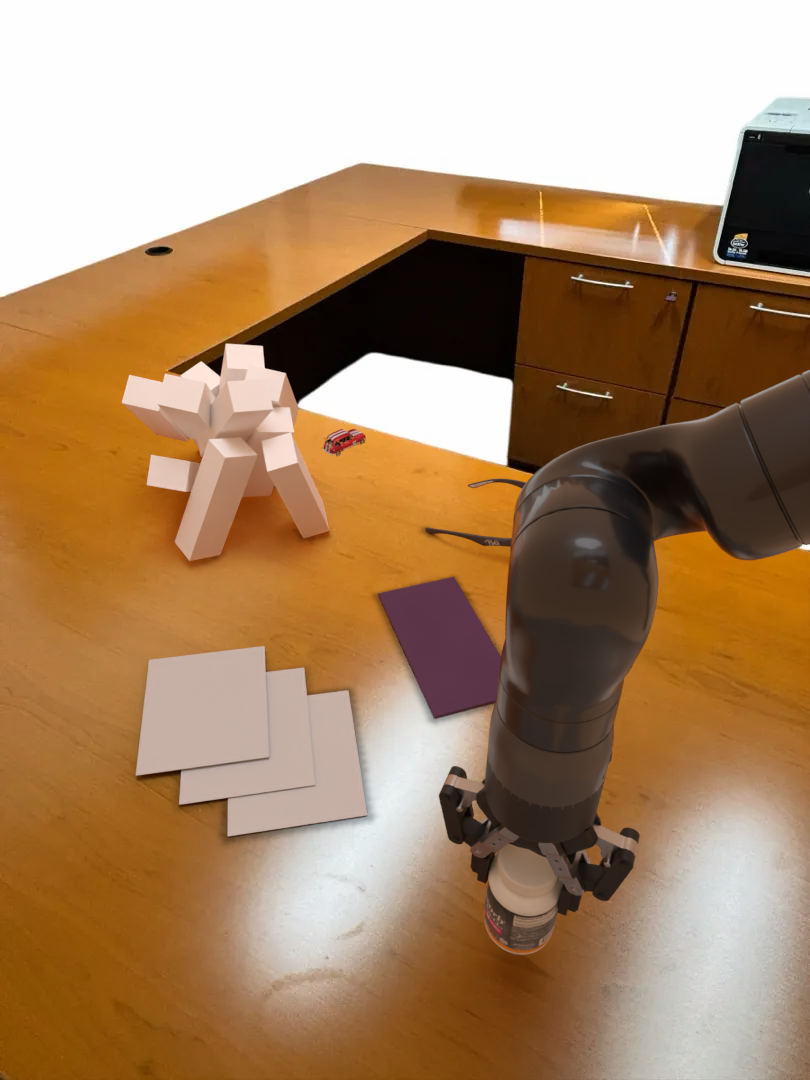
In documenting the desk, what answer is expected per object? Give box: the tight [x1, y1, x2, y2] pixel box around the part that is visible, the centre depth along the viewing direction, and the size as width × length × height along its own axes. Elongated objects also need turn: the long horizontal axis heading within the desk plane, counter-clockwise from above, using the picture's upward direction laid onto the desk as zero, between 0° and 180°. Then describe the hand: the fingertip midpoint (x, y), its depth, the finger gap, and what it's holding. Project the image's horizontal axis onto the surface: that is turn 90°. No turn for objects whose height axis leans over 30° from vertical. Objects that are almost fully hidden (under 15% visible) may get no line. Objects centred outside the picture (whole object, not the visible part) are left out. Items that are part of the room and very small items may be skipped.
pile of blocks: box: [121, 343, 331, 562], centre depth 112 cm, size 35×30×35 cm
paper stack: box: [135, 645, 368, 837], centre depth 86 cm, size 23×25×1 cm
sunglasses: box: [424, 478, 527, 548], centre depth 116 cm, size 16×17×5 cm
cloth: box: [377, 576, 501, 719], centre depth 98 cm, size 22×11×1 cm, turn 19°
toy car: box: [322, 428, 367, 457], centre depth 134 cm, size 4×8×3 cm, turn 133°
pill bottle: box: [483, 843, 564, 956], centre depth 60 cm, size 6×6×10 cm
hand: (524, 887), depth 59 cm, fingers closed on pill bottle, 5 cm apart
